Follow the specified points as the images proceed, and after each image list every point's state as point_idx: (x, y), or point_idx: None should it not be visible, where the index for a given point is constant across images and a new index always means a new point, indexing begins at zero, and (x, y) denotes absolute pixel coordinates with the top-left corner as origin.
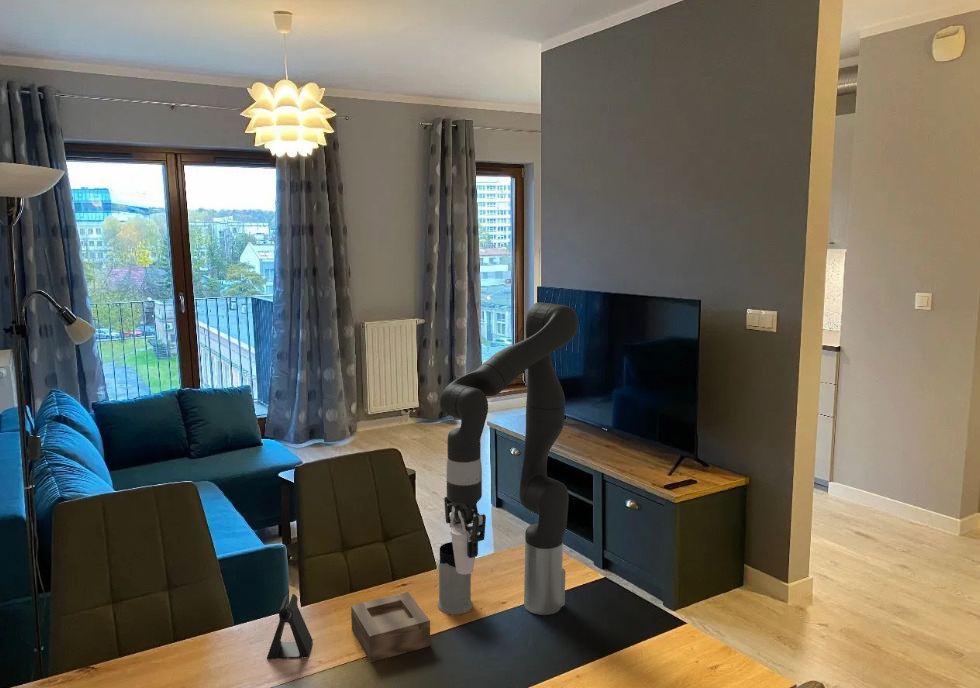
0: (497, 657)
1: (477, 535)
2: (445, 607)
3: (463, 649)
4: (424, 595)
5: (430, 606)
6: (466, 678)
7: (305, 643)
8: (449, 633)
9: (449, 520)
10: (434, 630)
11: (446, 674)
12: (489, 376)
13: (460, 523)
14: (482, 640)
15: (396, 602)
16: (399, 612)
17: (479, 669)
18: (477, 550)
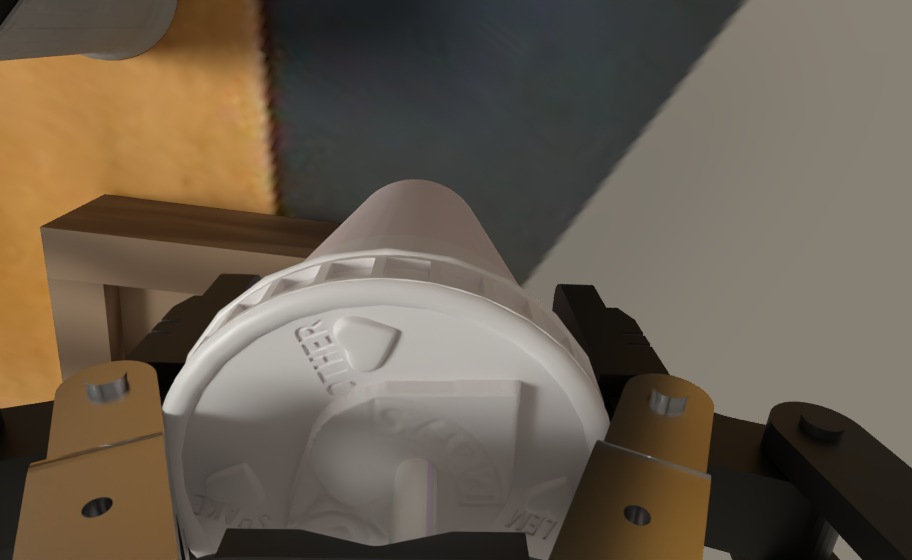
0: (543, 48)
1: (793, 523)
2: (125, 46)
3: (424, 133)
4: None
5: (65, 79)
6: (572, 215)
7: (189, 552)
8: (299, 120)
9: (12, 545)
10: (252, 160)
11: (514, 257)
12: None
13: (168, 447)
14: (412, 31)
15: (108, 300)
16: (166, 299)
17: (560, 151)
18: (642, 339)
